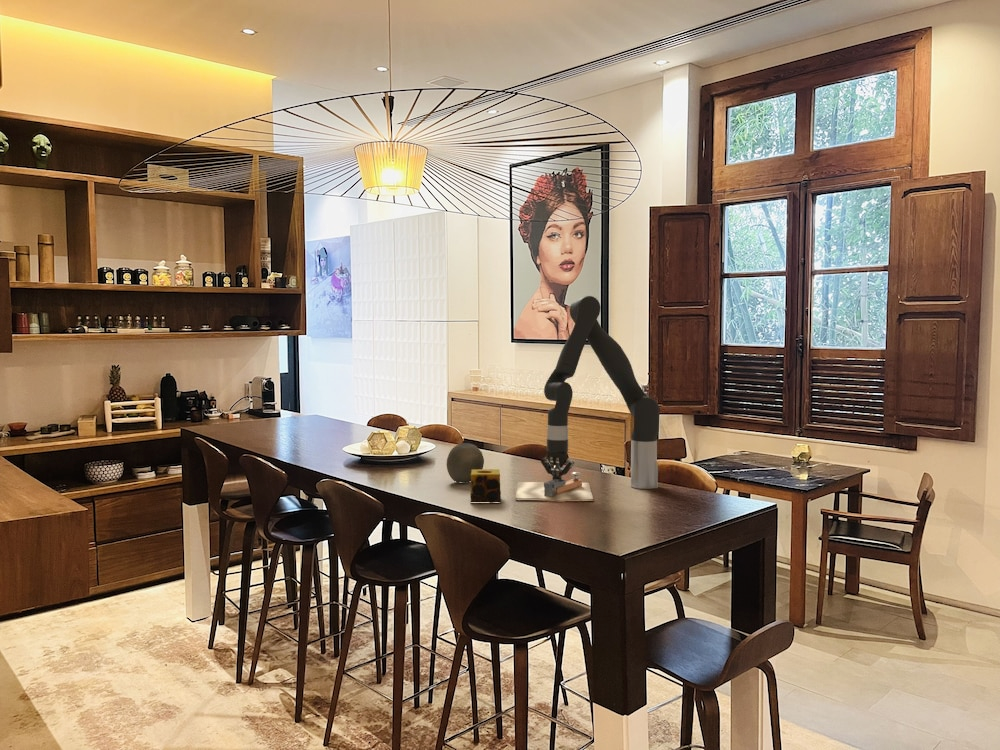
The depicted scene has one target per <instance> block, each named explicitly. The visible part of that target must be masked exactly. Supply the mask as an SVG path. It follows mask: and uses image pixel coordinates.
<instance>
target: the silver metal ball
mask: <svg viewBox="0 0 1000 750" xmlns="http://www.w3.org/2000/svg"><path fill="white" fill-rule="evenodd" d="M570 475H572V479H573V480H579V479H580V478H579V477H580V475H582V474H581V472H579V471H572V472H570Z"/></svg>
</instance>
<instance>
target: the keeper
mask: <svg viewBox="0 0 1000 750" xmlns="http://www.w3.org/2000/svg"><path fill="white" fill-rule="evenodd" d="M543 482H544V496H547V497H554V496H556V488H557V487H559V486H562V485H565V484H566V482H567V481H566V479H562V480H560V479H554V480H553V479H551V480H548V481H543Z"/></svg>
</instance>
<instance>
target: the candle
mask: <svg viewBox="0 0 1000 750" xmlns="http://www.w3.org/2000/svg"><path fill="white" fill-rule="evenodd" d="M501 493H502V490H501V474H500V469H498V468H494V469H492V468H489V469H487V468H485V469H484V468H483V469H478V470H471V482H470V497H469V498H470V502H502V497H501V495H502V494H501Z"/></svg>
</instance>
